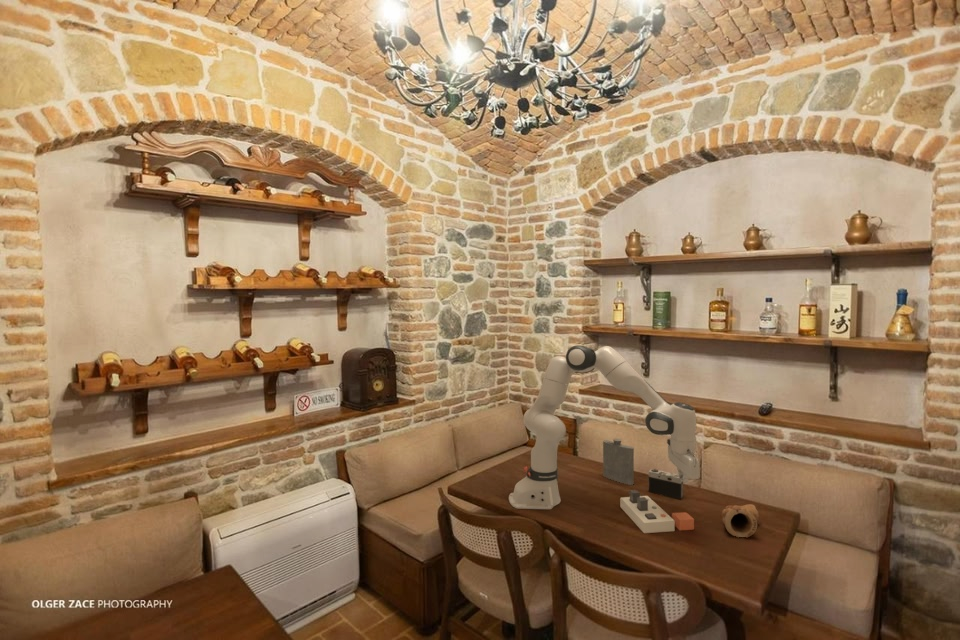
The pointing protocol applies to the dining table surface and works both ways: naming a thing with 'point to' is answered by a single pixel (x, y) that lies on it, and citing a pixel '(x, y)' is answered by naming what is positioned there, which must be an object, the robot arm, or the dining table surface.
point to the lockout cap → (683, 521)
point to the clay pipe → (740, 520)
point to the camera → (665, 484)
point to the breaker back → (634, 496)
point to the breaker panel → (647, 526)
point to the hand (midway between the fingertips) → (683, 481)
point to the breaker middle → (642, 504)
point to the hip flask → (618, 461)
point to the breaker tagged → (650, 516)
